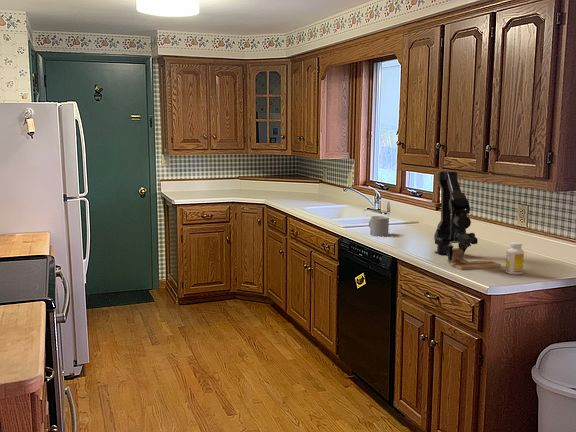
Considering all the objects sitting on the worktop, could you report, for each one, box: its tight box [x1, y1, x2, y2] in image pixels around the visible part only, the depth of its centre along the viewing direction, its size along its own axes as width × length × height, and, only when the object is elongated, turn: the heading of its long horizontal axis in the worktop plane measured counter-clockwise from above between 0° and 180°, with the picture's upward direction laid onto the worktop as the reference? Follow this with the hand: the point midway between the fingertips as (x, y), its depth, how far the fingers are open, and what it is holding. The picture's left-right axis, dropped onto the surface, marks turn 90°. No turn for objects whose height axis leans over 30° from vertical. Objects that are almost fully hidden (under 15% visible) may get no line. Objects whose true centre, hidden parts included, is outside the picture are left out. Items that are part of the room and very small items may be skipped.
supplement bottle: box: [505, 241, 525, 276], centre depth 247 cm, size 7×7×13 cm
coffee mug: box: [368, 215, 390, 237], centre depth 332 cm, size 13×10×10 cm
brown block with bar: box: [447, 247, 469, 264], centre depth 261 cm, size 10×5×6 cm, turn 19°
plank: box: [450, 259, 501, 271], centre depth 260 cm, size 8×20×1 cm, turn 109°
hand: (455, 259), depth 264 cm, fingers closed on brown block with bar, 5 cm apart
